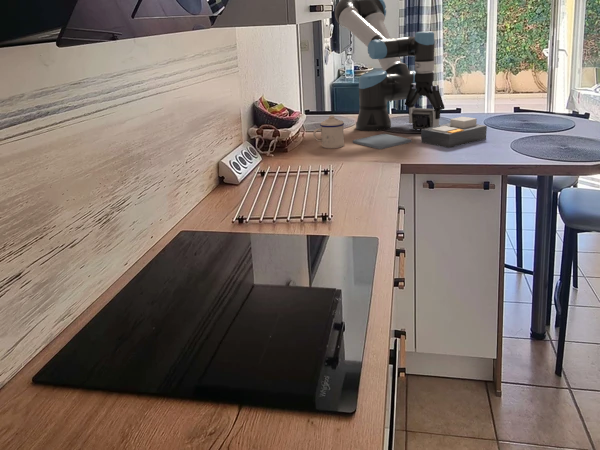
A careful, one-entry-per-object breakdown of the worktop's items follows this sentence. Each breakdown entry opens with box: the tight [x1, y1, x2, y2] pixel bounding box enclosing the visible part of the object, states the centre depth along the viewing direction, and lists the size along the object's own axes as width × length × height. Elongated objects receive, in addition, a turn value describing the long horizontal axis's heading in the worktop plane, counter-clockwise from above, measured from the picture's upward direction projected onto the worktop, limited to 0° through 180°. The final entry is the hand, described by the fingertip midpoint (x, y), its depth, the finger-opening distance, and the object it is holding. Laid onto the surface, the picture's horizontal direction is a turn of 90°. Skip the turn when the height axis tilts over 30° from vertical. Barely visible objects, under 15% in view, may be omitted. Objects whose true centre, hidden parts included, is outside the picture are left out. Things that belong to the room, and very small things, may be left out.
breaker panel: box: [420, 122, 488, 149], centre depth 218 cm, size 14×20×5 cm
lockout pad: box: [352, 133, 413, 150], centre depth 223 cm, size 16×16×1 cm
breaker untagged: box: [449, 116, 478, 128], centre depth 219 cm, size 7×7×3 cm
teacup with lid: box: [312, 115, 345, 149], centre depth 220 cm, size 12×9×12 cm
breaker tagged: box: [431, 126, 458, 133], centre depth 215 cm, size 7×7×3 cm
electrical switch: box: [411, 107, 434, 130], centre depth 238 cm, size 9×5×9 cm, turn 57°
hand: (423, 124), depth 238 cm, fingers open, 13 cm apart
